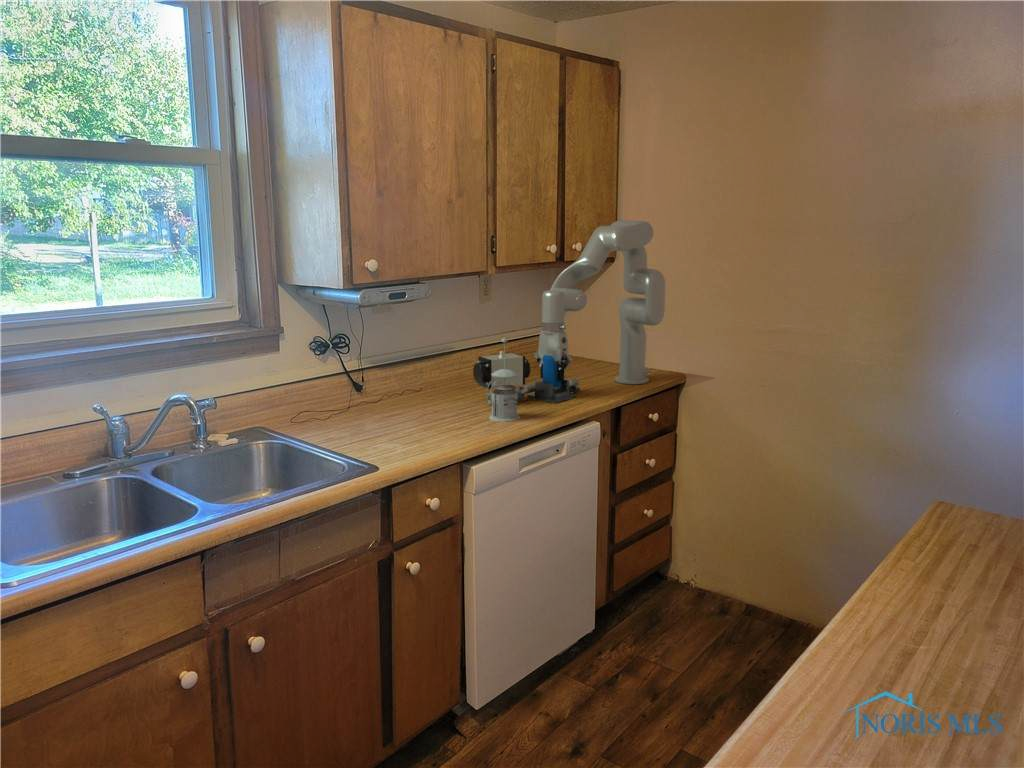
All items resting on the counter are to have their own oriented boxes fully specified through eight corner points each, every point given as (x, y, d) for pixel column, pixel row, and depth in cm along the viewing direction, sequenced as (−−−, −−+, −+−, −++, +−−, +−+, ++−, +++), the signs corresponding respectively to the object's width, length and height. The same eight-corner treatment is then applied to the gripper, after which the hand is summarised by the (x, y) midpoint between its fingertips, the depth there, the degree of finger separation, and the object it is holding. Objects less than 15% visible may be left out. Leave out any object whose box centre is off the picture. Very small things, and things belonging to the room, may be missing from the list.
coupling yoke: (555, 387, 276) (555, 371, 275) (588, 394, 267) (588, 377, 265) (510, 399, 259) (510, 381, 258) (543, 406, 249) (543, 388, 248)
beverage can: (543, 385, 264) (543, 351, 261) (561, 386, 263) (562, 351, 261) (541, 389, 258) (542, 354, 255) (560, 390, 257) (561, 355, 255)
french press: (526, 417, 236) (527, 338, 230) (499, 424, 228) (499, 342, 222) (504, 411, 243) (505, 334, 237) (477, 418, 235) (477, 338, 229)
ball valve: (517, 397, 261) (518, 346, 257) (530, 403, 254) (531, 350, 250) (471, 404, 252) (470, 351, 249) (483, 409, 245) (482, 355, 241)
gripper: (580, 328, 253) (578, 381, 257) (540, 323, 265) (540, 374, 268) (566, 331, 248) (564, 384, 252) (526, 325, 259) (526, 377, 263)
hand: (552, 378), depth 260 cm, fingers closed on beverage can, 6 cm apart
